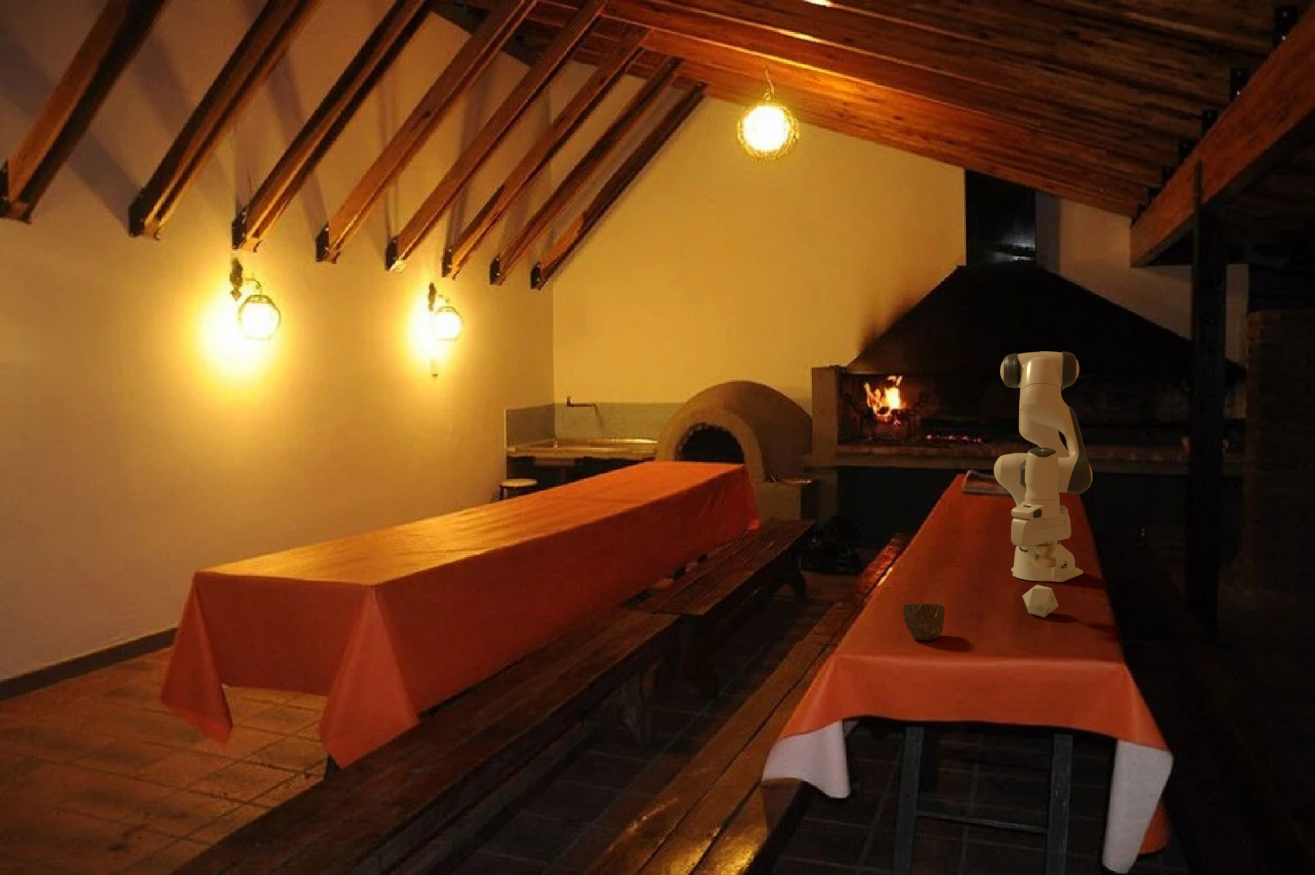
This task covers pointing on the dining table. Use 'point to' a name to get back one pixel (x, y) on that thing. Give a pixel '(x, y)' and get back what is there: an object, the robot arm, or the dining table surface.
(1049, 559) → the beech block
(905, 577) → the dining table surface
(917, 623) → the rock
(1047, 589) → the die
